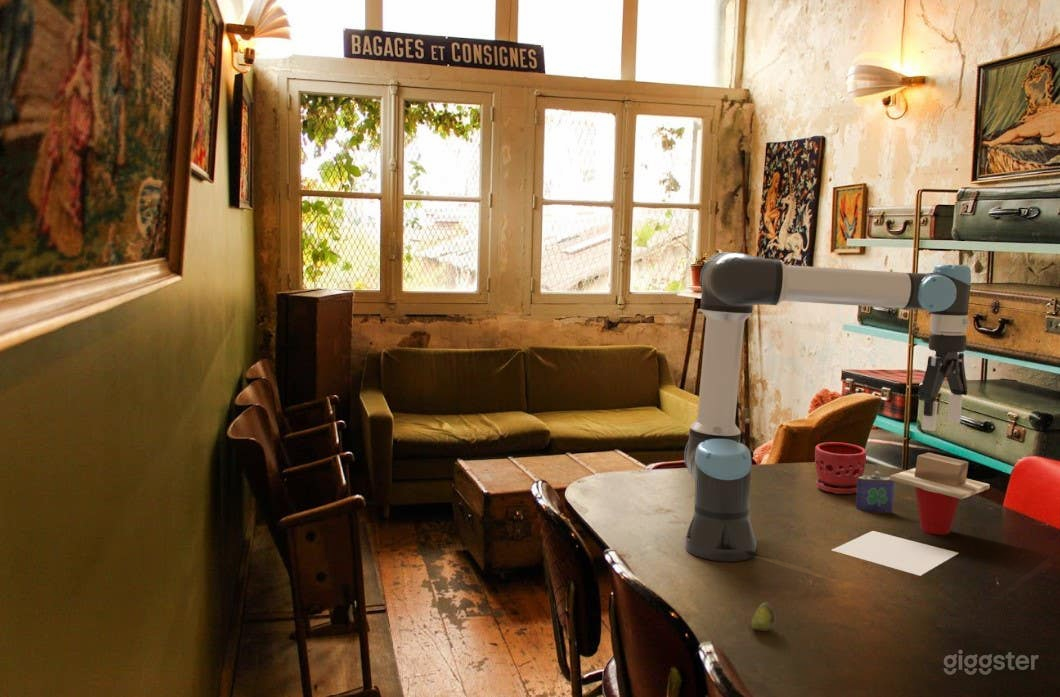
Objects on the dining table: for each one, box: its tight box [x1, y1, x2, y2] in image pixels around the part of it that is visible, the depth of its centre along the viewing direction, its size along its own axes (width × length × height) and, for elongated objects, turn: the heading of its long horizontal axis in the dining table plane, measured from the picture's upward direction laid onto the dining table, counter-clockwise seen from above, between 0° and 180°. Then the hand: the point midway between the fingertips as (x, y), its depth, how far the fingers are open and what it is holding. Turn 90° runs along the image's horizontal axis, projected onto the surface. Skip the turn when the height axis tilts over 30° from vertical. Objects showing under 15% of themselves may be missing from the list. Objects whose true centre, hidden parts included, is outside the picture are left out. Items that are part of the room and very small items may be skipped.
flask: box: [855, 470, 896, 515], centre depth 208 cm, size 9×3×11 cm, turn 87°
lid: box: [889, 452, 990, 500], centre depth 191 cm, size 16×16×6 cm
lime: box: [749, 601, 777, 632], centre depth 144 cm, size 4×5×5 cm
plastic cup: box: [914, 486, 961, 536], centre depth 192 cm, size 11×11×12 cm
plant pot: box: [814, 441, 867, 495], centre depth 228 cm, size 13×13×12 cm
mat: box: [831, 530, 959, 576], centre depth 179 cm, size 19×19×1 cm
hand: (941, 426), depth 190 cm, fingers open, 13 cm apart
